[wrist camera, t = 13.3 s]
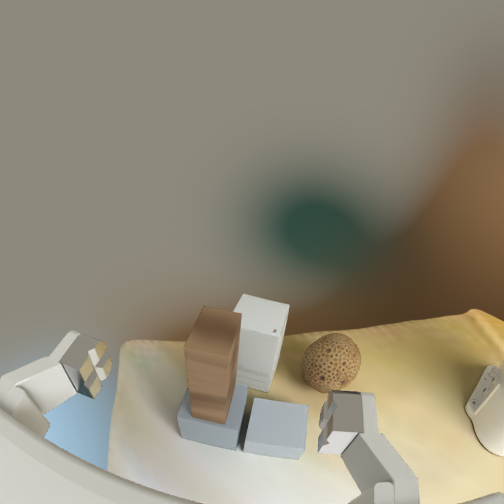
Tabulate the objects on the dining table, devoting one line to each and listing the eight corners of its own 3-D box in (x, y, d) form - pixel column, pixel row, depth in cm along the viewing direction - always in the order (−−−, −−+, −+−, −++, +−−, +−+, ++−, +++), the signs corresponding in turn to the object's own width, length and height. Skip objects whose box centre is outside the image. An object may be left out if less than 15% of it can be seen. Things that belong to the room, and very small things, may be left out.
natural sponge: (340, 413, 40) (363, 374, 36) (287, 395, 43) (300, 354, 38) (352, 372, 48) (372, 331, 43) (305, 356, 51) (318, 314, 46)
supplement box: (279, 361, 50) (292, 304, 43) (267, 394, 43) (279, 338, 37) (238, 349, 51) (243, 291, 45) (222, 380, 45) (224, 323, 39)
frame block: (224, 424, 32) (228, 356, 25) (191, 416, 32) (183, 346, 26) (235, 386, 37) (241, 313, 30) (205, 380, 37) (203, 305, 31)
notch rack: (298, 459, 34) (309, 440, 30) (181, 437, 35) (176, 416, 32) (302, 418, 40) (312, 395, 36) (195, 399, 41) (192, 374, 38)
